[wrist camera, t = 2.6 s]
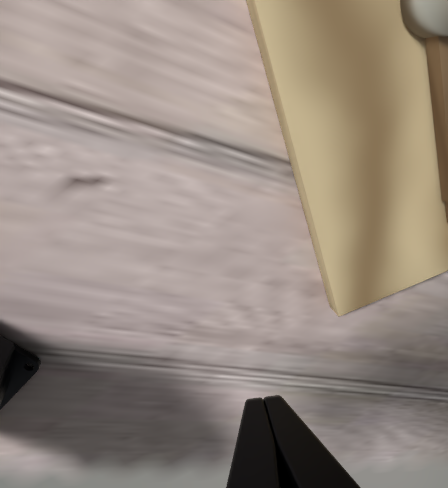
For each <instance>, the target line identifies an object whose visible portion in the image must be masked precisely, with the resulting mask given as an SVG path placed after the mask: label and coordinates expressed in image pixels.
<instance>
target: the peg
mask: <svg viewBox="0 0 448 488" xmlns="http://www.w3.org/2000/svg"><path fill="white" fill-rule="evenodd" d="M400 8H401V14H402V17H403V20H404V22H405V24H406V25H407V27H408V28H409V29H410V30H411V31H412V32H413V33H414V34H415V35H417V36H419V37H422V38H425V45H426V55H427V64H428V74H429V83H430V93H431V102H432V112H433V121H434V130H435V140H436V149H437V159H438V168H439V178H440V187H441V197H442V200H443V201H445V208H446V218H447V222H448V0H400Z"/></svg>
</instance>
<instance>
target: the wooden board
mask: <svg viewBox="0 0 448 488" xmlns="http://www.w3.org/2000/svg"><path fill="white" fill-rule="evenodd" d="M246 2H247V5H248V9H249V13H250V16H251V20H252V24H253V27H254V31H255V34H256V38H257V42H258V45H259V49H260V53H261V56H262V60H263V64H264V67H265V71H266V75H267V78H268V82H269V86H270V89H271V93H272V97H273V100H274V104H275V108H276V111H277V115H278V118H279V122H280V126H281V129H282V133H283V137H284V140H285V144H286V148H287V151H288V155H289V159H290V162H291V166H292V170H293V173H294V177H295V181H296V184H297V188H298V192H299V195H300V199H301V202H302V206H303V210H304V213H305V217H306V221H307V224H308V228H309V232H310V235H311V239H312V243H313V246H314V250H315V254H316V257H317V261H318V265H319V268H320V272H321V276H322V279H323V283H324V286H325V290H326V294H327V297H328V301H329V305H330V307H331V308H332V309H333V311H334V312H335V313H336V314H337V315H338V317H339V316H342V315H344V314H346V313H349V312H351V311H353V310H356V309H358V308H361V307H363V306H365V305H368V304H370V303H372V302H375V301H377V300H379V299H382V298H384V297H387V296H389V295H391V294H394V293H396V292H398V291H401V290H403V289H405V288H408V287H410V286H413V285H415V284H417V283H420V282H422V281H424V280H427V279H429V278H431V277H434V276H436V275H439V274H441V273H443V272H446V271H448V222H447V218H446V208H445V201H443V200H442V197H441V187H440V178H439V168H438V159H437V149H436V140H435V130H434V121H433V112H432V102H431V93H430V83H429V74H428V64H427V55H426V45H425V38H422V37H419V36H417V35H415V34H414V33H413V32H412V31H411V30H410V29H409V28H408V27H407V25H406V24H405V22H404V20H403V17H402V14H401V8H400V0H246Z"/></svg>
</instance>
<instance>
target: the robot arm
mask: <svg viewBox="0 0 448 488" xmlns="http://www.w3.org/2000/svg"><path fill="white" fill-rule="evenodd" d="M28 363H31V364H33V365H34V366H28V365H27V364H28ZM40 364H41V361H40V359H39V358H38V357H37V356H35V355H33V354H31V353H30V352H28V351H26V350H24V349H23V348H21V347H19V346H17V345H15V344H14V343H12V342H11V341H9V340H7V339H6V338H4V337H2V336H0V409H1V408H2V407H3V406H4V405H5V404H6V403H7V402H8V401H9V400H10V399H11V398H12V397H13V396H14V395H15V394H16V393H17V392H18V391H19V390H20V389H21V388H22V387H23V386H24V385H25V384H26V383H27V382H28V380H29V379H30V378H31V377H32V376H33V375H34V374H35V373H36V372H37V371H38V369H39V367H40ZM226 488H360V487H359V485H358V484H357V483H356V482H355V481H354V480H353V478H352V477H351V476H350V475H349V474H348V473H347V472H346V470H345V469H344V468H343V467H342V466H341V465H340V463H339V462H338V461H337V460H336V459H335V458H334V457H333V455H332V454H331V453H330V452H329V451H328V450H327V448H326V447H325V446H324V445H323V444H322V443H321V442H320V440H319V439H318V438H317V437H316V436H315V435H314V433H313V432H312V431H311V430H310V429H309V428H308V427H307V425H306V424H305V423H304V422H303V421H302V420H301V419H300V417H299V416H298V415H297V414H296V413H295V412H294V410H293V409H292V408H291V407H290V406H289V405H288V404H287V402H286V401H285V400H284V399H283V398H282V397H281V396H279V395H275V396H268V397H265V398H264V399H262V398H253V399H247V400H246V402H245V406H244V410H243V415H242V419H241V424H240V428H239V433H238V437H237V442H236V446H235V451H234V455H233V460H232V464H231V469H230V473H229V478H228V482H227V487H226Z"/></svg>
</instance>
